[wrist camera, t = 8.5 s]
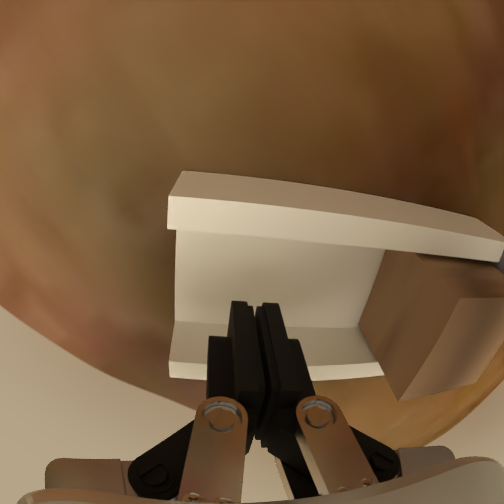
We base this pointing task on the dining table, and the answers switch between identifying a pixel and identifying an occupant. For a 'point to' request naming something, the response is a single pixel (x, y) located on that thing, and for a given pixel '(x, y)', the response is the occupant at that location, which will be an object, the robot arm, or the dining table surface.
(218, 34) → the dining table surface
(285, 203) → the chute
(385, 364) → the walnut block
